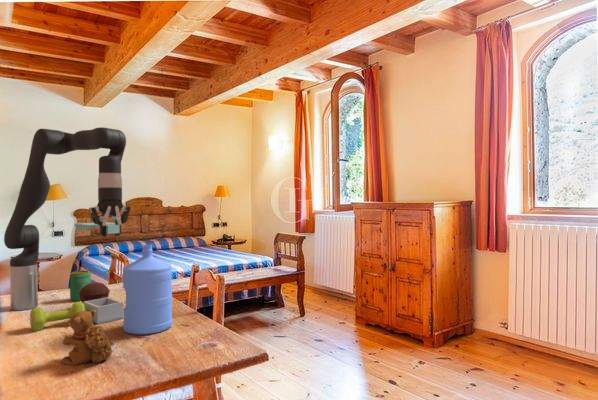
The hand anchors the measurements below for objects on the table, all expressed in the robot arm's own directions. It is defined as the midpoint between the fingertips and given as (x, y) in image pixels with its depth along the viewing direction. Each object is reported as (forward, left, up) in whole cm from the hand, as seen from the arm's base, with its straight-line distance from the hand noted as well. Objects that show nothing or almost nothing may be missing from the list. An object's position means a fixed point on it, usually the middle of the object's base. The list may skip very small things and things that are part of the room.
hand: (110, 236), depth 144 cm
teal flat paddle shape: (-7, 0, +1) cm, 7 cm away
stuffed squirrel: (+26, -18, -31) cm, 44 cm away
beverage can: (-46, +8, -31) cm, 56 cm away
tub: (-10, +2, -31) cm, 33 cm away
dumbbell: (-14, -12, -31) cm, 36 cm away
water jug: (+13, +7, -31) cm, 34 cm away
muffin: (-27, +6, -31) cm, 42 cm away
